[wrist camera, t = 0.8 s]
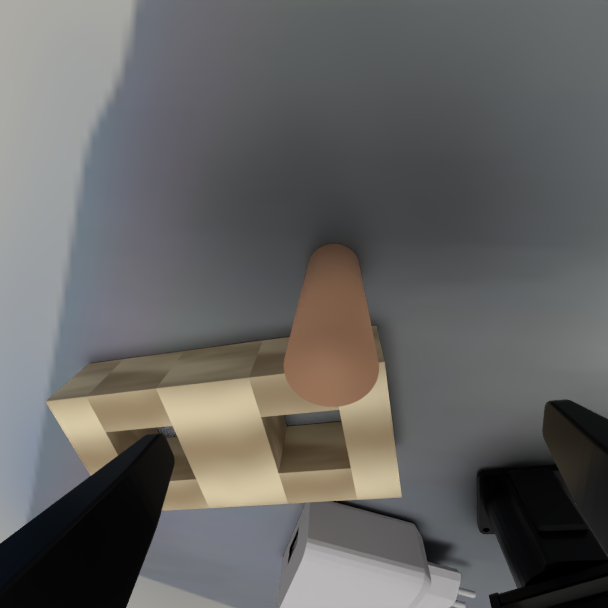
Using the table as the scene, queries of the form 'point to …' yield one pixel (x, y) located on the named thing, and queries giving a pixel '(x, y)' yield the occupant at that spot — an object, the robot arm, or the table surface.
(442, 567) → the charger
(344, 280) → the peg
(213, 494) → the hole block
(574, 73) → the table surface
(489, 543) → the table surface
